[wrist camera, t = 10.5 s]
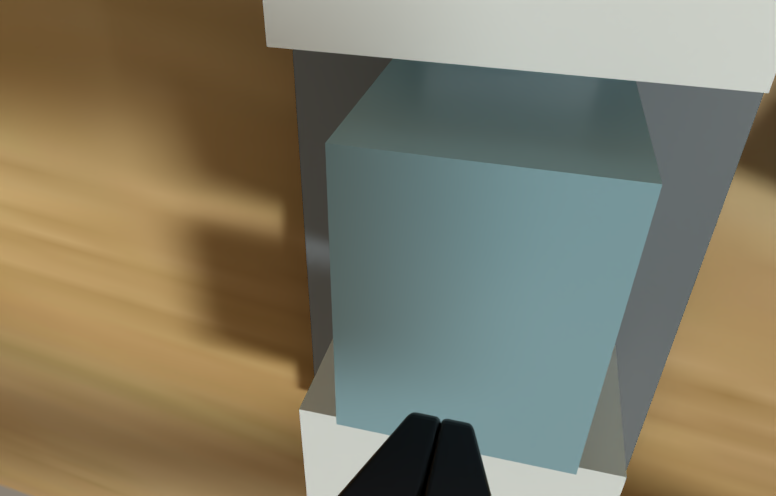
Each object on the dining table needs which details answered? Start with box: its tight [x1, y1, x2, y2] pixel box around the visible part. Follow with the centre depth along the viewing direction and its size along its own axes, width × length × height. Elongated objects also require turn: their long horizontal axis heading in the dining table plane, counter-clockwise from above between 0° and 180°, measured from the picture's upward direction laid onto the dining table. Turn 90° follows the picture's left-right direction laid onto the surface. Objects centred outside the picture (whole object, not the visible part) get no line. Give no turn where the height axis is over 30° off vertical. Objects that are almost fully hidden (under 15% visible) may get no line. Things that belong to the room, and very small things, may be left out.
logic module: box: [325, 59, 662, 475], centre depth 12 cm, size 6×5×5 cm
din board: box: [263, 0, 776, 496], centre depth 13 cm, size 20×10×6 cm, turn 179°
